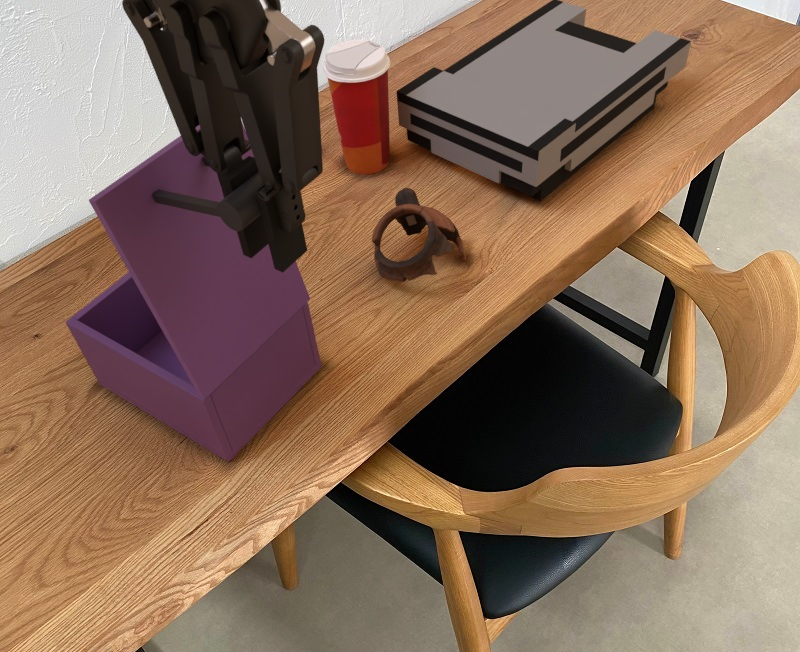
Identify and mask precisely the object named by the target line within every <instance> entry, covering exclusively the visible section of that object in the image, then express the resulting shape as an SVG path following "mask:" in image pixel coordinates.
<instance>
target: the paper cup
mask: <svg viewBox="0 0 800 652" xmlns="http://www.w3.org/2000/svg"><path fill="white" fill-rule="evenodd" d="M390 66H391V59H390V57H389V55H388V54H387V52H386V49H385V47H384V46H383V45H382V46H381V45H380V44H378V43H376V42H374V41H372V40H370V39H364V38H363V39H362V38H361V39H360V38H359V39H357V38H356V39H349V40H345V41H341V42H339V43H337V44H335V45H333V46H332V47H329V49H328V50H327V51H326V54H325V60H324V63H323V65H322V71H323V73H324V74H325V76H326V78H327V82H328V86H329V93H330V96H331V97H330V98H331V102H332V107H333V111H334V117H335V121H336V126H337V131H338V136H339V140H340V145H341V149H342V153H343V158H344V162H345V165H346V167H347V169H348V170H349V171H350V172H352V173H354V174H359V175H372V174H376V173H378V172H381V171H383V170H384V169H386V168H387V166H388V165H389V163H390V155H391V152H390V151H391V149H390V146H391V145H390V144H391V143H390V142H391V141H390V104H389V103H390V100H389V98H390V97H389V68H390Z"/></svg>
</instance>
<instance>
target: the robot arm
mask: <svg viewBox="0 0 800 652" xmlns="http://www.w3.org/2000/svg"><path fill="white" fill-rule="evenodd" d="M121 5H122V8H123V10H124V11H123V12H124V13H125V14H126V16H127V18H128V19H129V21H130V23H131V25H132V26H133V27H134V29H135V31H136V33H137V34H138V36H139V38H140V39H141V41H142V42H143V45H144V48H145V50H146V53H147V55H148V57H149V60H150V63H151V65H152V68H153V71H154V73H155V75H156V77H157V80H158V83H159V86H160V88H161V90H162V93H163V95H164V97H165V99H166V103H167V105H168V107H169V110H170V112H171V115H172V118H173V120H174V122H175V124H176V127H177V130H178V132H179V136H181V137H182V140H183V142H184V145H185V147H186V149H187V150H188V152H189V153H190V154H191V155H193V156H198V155H199V154H202V155H203V156H205V157H206V158H207V162H208V165H209V166H210V168H211V169H212V170H213V171H215V172H217V175H218V179H219V182H220V186H221V187H222V188H221V189H222V192H223V196H224V198H225V197H227V196H228V195H229V194H230V193H232V192H233V191H234V190H236V189H237V188H238V187H239V186H241V185H242V184H243V183H245V182H246V181H247V180H248V179H250V178H251V177H252V176H253V175H255V174H256V173H257V172H259V174H260V177H261V180H262V183H263V185H261V186H260V187H259V188H258V189H256V190H255V193H256V197H257V201H258V205H259V208H260V212H261V215H260V216H259V217H257V218H256V219H255V220H254V221H253V222H251V223H250V224H249V225H248V226H246V227H245V228H244V229H243V230H241V231H237V234H238V237H239V241H240V244H241V248H242V251H243V255H245V256H247V257H249V258H252V257H254V256H255V255H256V254H257V253H258V252H259V251H261V250H262V249H263V248H264V247H265V246H266V245H268V244H269V248H270V252H271V256H272V260H273V264H274V268H275V269H276V270H278V271H280V272H284V271H285V270H286V269H288V268H289V267H290V266H291V265H292V264H293V263H294V262H295V261H296V262H297V261H298V260H299V259H300V258H301V257H302V256H303V255H304V254H305V253H306V252H308V246H307V240H306V236H305V232H304V227H303V223H304V222H305V221H306V211H305V206H304V200H303V196H302V190H304V188H306V187H307V186H308V185H309V184H311V183H312V182H313V181H315V179H316V178H318V177H319V176H320V175H322V174H323V171H324V167H323V165H324V164H323V148H322V130H321V128H322V127H321V112H320V93H319V92H320V91H319V75H318V66H319V62H320V59H321V56H322V52H323V50H324V45H325V36H324V34H323V33H324V32H322V30H321V29H320V28H319V27H318V26H317V25H315V24H310V25H308V26H306V27H305V28H303V29H301V28H300V27H299V26H298V25H297V24H295V23H294V22H293V21H292V20H290V18H289V17H287V16H286V15H285V14H284V13H282V5H281V1H280V0H122V3H121ZM242 123H243V126H244V128H245V131H246V134H247V137H248V140H249V141H248V140H246V139H244V134H243V127H242ZM198 125H200V130H199V131H197V130H196V127H197V126H198ZM249 144H250V145H249ZM248 145H249V146H248ZM250 149H252V152H253V155H254V158H253V157H251V156H248V157H247V158H246V159H244V160H242V155H244V154H245V153H246V152H248V151H249V150H250Z"/></svg>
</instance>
